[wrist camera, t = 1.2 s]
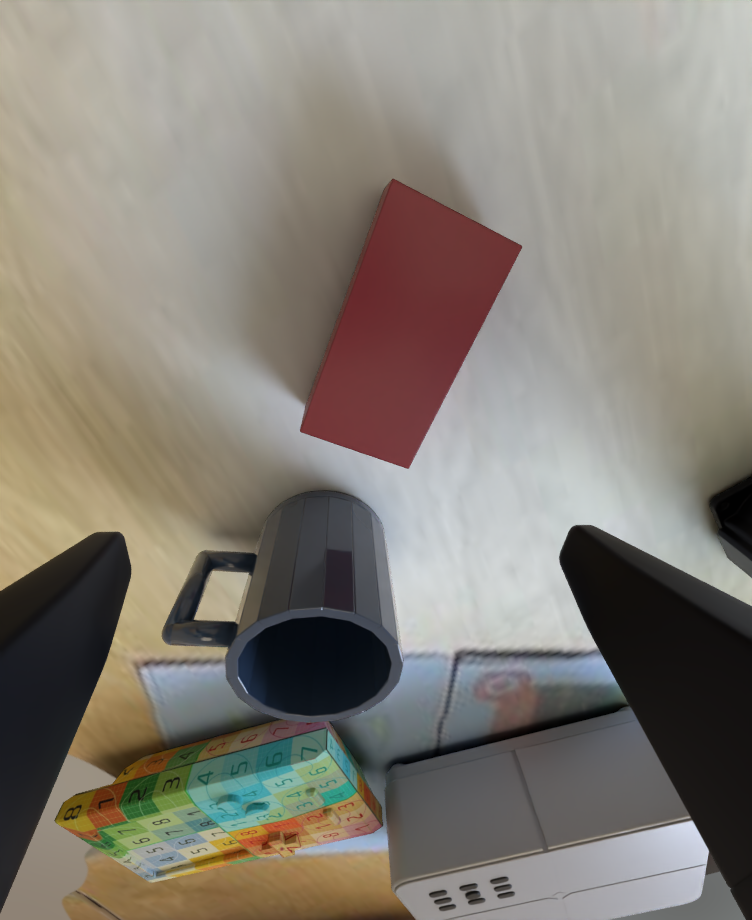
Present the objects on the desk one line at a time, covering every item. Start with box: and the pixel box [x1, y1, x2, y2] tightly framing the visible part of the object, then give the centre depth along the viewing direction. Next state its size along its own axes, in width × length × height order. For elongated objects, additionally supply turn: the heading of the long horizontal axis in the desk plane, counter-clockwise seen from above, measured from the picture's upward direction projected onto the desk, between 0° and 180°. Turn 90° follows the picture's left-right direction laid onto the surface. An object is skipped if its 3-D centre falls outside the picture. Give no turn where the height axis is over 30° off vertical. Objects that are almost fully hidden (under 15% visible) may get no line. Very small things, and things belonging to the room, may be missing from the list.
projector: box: [384, 706, 709, 920], centre depth 34 cm, size 17×22×8 cm
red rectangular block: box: [300, 179, 522, 469], centre depth 17 cm, size 10×5×3 cm, turn 157°
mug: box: [162, 491, 404, 723], centre depth 20 cm, size 10×7×8 cm
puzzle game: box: [55, 719, 383, 883], centre depth 32 cm, size 12×5×20 cm
